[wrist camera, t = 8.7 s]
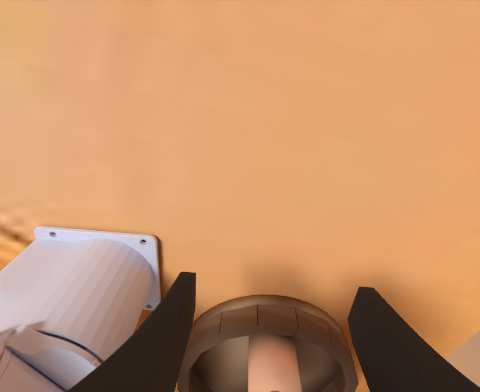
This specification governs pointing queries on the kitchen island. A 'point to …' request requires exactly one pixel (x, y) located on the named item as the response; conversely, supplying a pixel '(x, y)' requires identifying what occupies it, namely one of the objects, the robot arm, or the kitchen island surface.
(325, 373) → the groove tray
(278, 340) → the bead
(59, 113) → the kitchen island surface
